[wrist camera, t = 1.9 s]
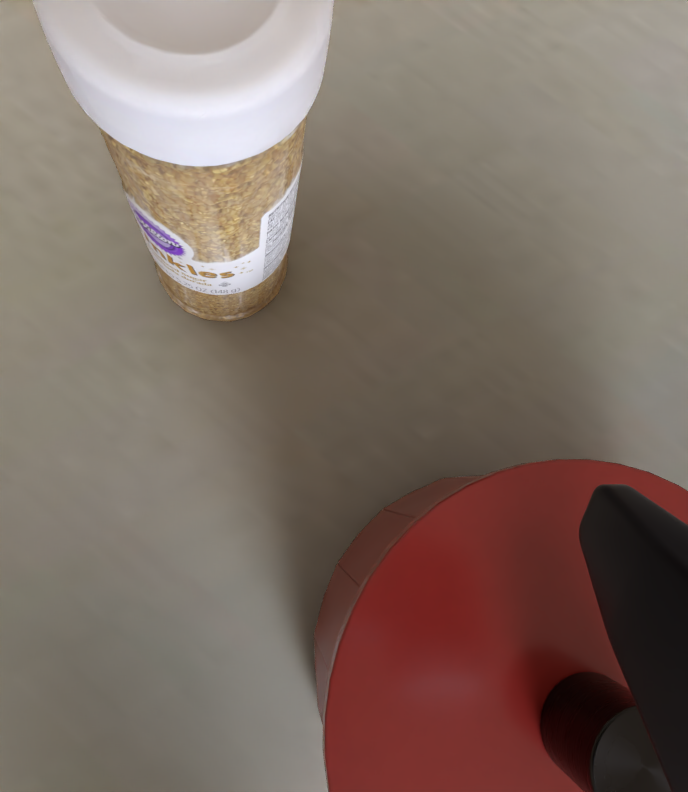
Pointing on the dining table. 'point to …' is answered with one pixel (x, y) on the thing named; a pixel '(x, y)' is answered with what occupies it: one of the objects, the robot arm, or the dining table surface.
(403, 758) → the pot lid
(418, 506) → the pot
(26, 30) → the dining table surface
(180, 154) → the sprinkles bottle
